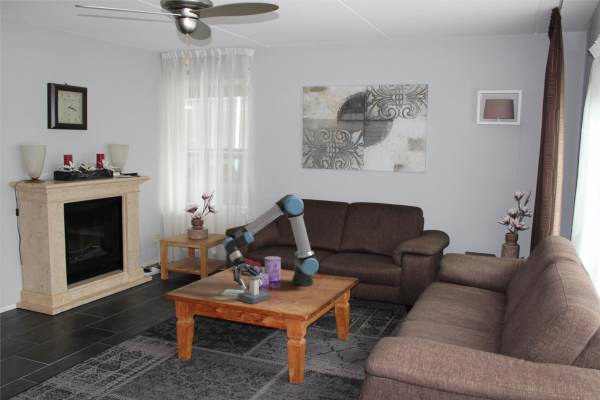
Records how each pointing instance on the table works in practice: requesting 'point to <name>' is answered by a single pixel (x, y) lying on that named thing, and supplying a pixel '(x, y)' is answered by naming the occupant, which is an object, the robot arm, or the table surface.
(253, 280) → the plug
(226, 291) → the pad
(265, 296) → the grey square socket block
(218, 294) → the table surface
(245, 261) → the decorative bird sculpture
